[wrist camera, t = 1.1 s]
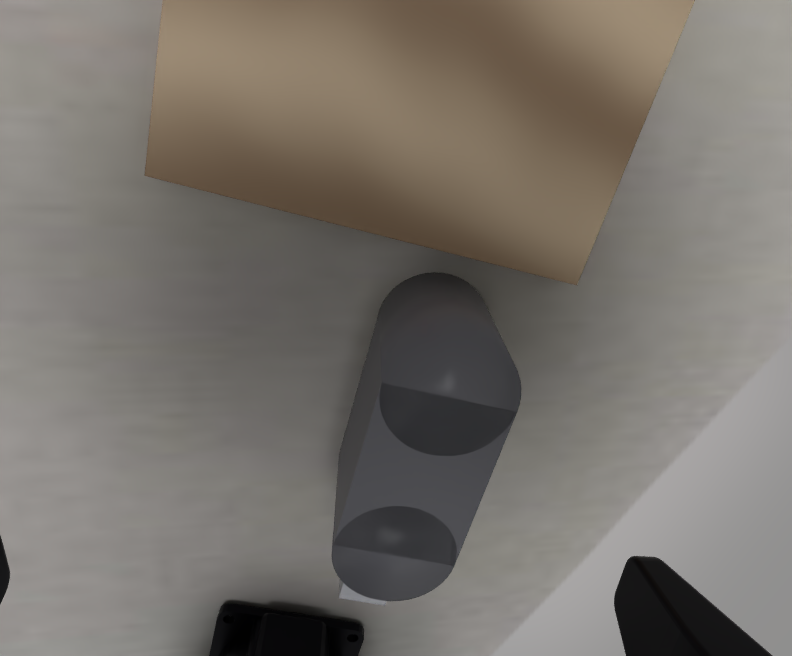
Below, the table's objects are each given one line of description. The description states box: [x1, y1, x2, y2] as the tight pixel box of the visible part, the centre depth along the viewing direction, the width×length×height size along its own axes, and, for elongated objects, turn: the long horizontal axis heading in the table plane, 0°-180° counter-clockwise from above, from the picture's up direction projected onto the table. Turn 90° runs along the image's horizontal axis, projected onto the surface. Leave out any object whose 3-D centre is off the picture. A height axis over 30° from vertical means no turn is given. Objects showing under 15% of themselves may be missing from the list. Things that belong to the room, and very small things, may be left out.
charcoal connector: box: [332, 273, 521, 605], centre depth 21 cm, size 12×4×5 cm, turn 165°
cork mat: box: [145, 0, 695, 285], centre depth 17 cm, size 12×14×1 cm
